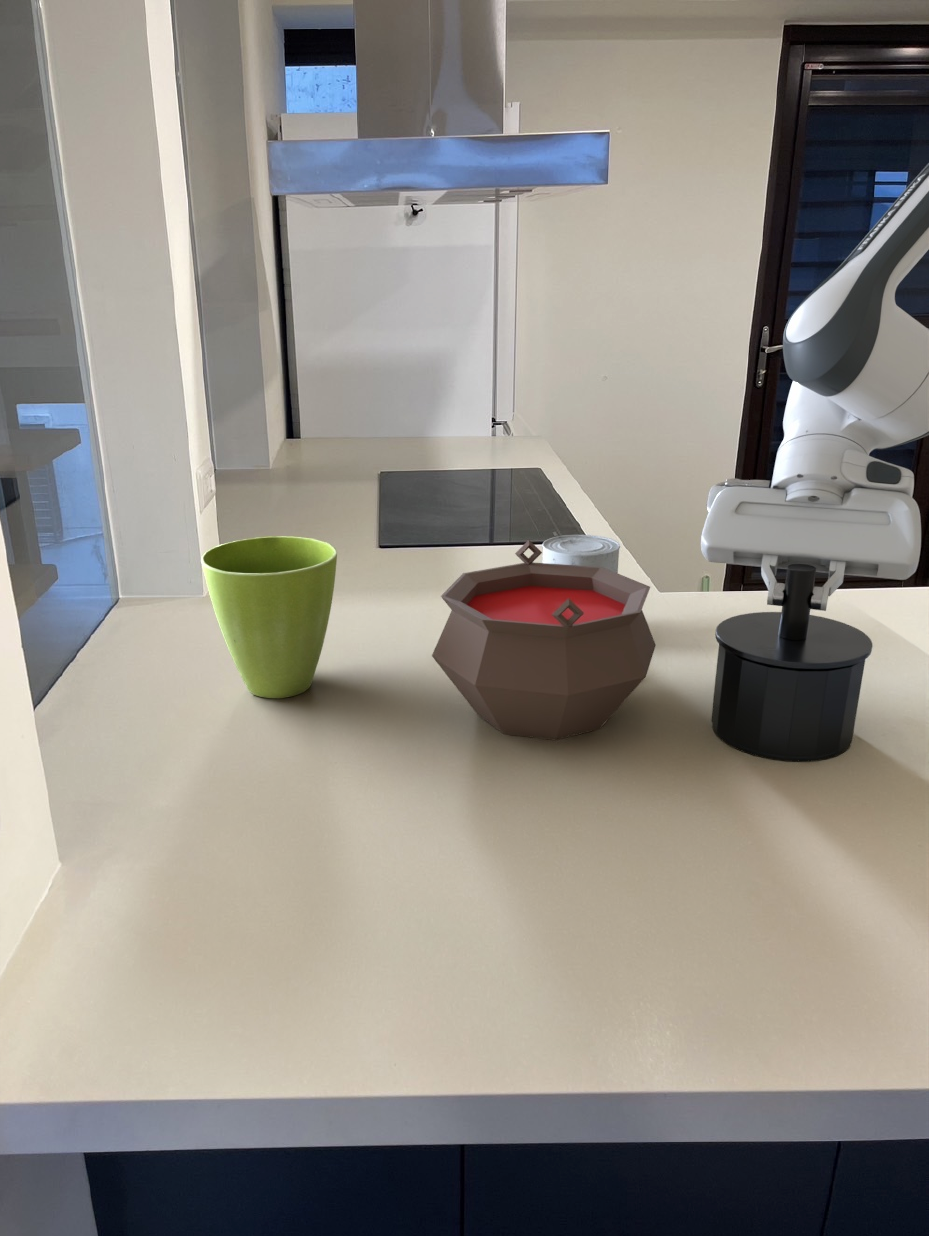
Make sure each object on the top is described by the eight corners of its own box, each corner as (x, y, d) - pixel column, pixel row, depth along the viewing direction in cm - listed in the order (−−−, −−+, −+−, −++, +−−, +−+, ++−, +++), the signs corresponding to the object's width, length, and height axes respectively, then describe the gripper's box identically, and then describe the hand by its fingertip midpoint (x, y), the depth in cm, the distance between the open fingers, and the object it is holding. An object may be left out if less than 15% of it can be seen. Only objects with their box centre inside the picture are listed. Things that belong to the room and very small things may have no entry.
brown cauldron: (686, 755, 100) (700, 597, 93) (443, 768, 98) (441, 608, 92) (622, 665, 122) (631, 531, 115) (424, 674, 120) (421, 540, 114)
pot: (826, 704, 110) (838, 621, 106) (872, 762, 97) (888, 670, 94) (699, 704, 111) (707, 622, 107) (729, 761, 98) (739, 671, 94)
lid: (840, 622, 107) (852, 546, 103) (894, 675, 93) (910, 590, 90) (700, 622, 107) (708, 547, 104) (734, 675, 94) (743, 591, 91)
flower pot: (366, 693, 115) (360, 558, 109) (244, 724, 109) (230, 581, 102) (310, 654, 127) (302, 529, 121) (197, 679, 120) (182, 549, 114)
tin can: (614, 626, 134) (619, 535, 129) (614, 652, 125) (620, 555, 121) (542, 623, 136) (544, 533, 131) (537, 648, 127) (540, 553, 122)
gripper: (710, 460, 103) (685, 578, 99) (932, 472, 96) (915, 601, 91) (713, 494, 109) (689, 608, 105) (922, 508, 101) (906, 632, 97)
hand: (796, 605), depth 98 cm, fingers closed on lid, 2 cm apart
